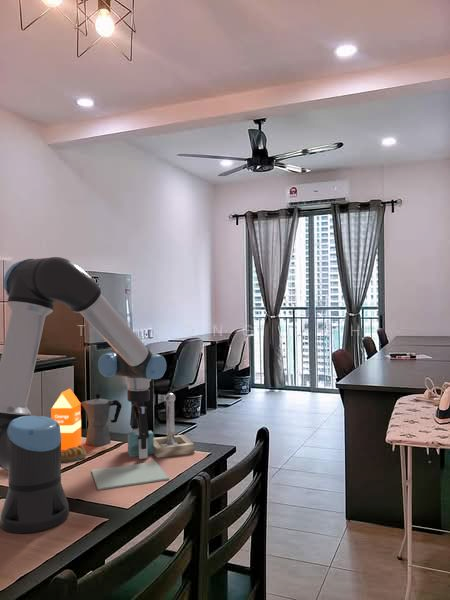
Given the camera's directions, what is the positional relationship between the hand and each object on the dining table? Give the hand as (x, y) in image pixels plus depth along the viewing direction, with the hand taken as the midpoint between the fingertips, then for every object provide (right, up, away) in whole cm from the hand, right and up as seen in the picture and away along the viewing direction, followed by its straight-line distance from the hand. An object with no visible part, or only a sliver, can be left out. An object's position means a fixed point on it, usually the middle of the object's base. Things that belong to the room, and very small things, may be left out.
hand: (139, 452), depth 165 cm
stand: (+10, 0, +4) cm, 11 cm away
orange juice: (-28, -1, +10) cm, 29 cm away
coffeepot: (-17, -1, +14) cm, 22 cm away
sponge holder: (+7, 0, +3) cm, 7 cm away
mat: (+1, 0, -21) cm, 21 cm away
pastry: (-21, -1, -4) cm, 22 cm away
